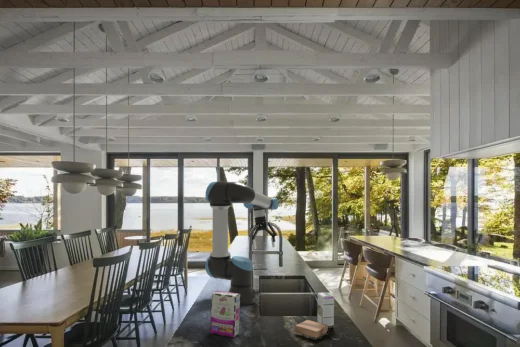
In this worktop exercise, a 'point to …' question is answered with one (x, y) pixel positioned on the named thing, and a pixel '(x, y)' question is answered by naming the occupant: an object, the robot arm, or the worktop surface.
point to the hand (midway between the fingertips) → (264, 248)
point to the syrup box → (325, 309)
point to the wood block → (311, 328)
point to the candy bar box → (225, 313)
